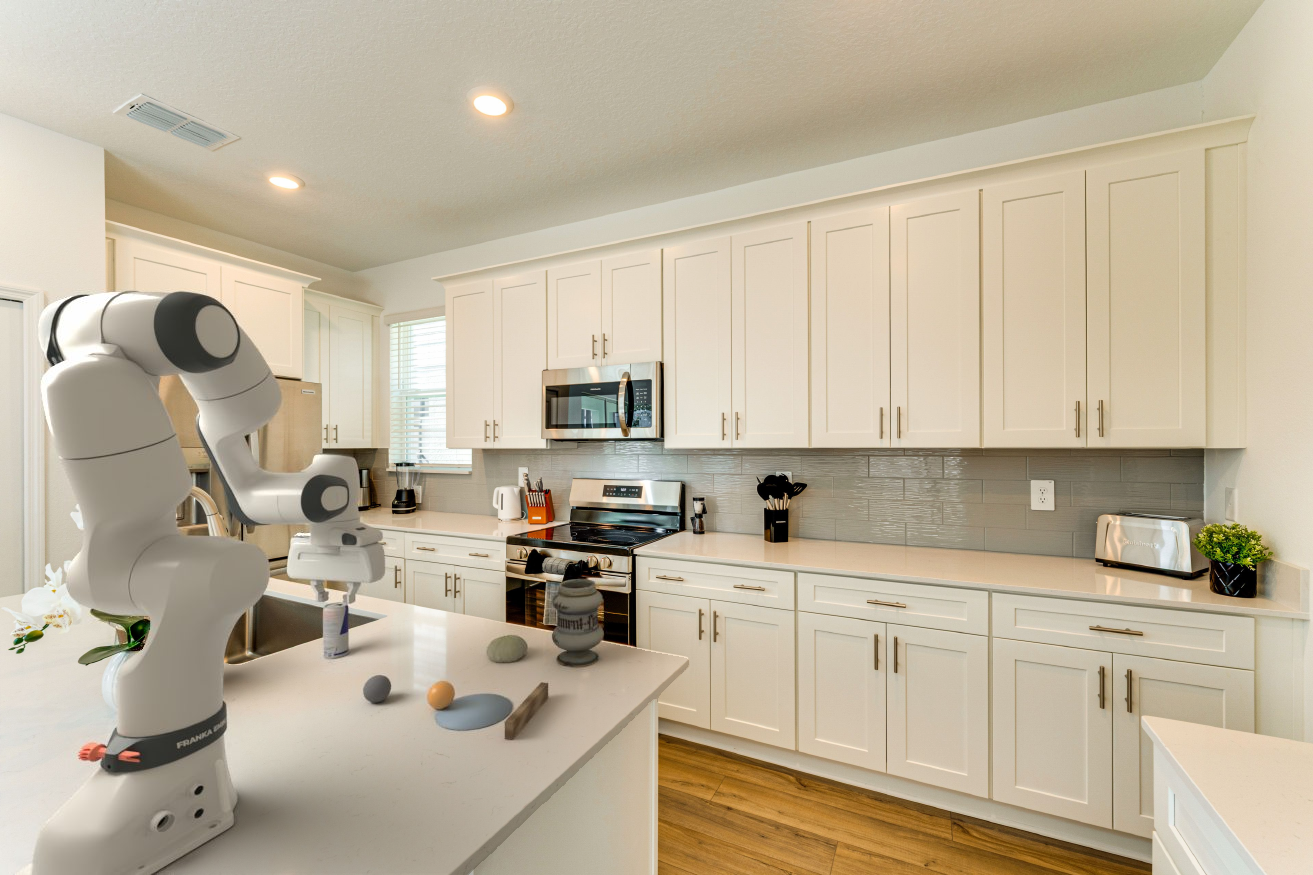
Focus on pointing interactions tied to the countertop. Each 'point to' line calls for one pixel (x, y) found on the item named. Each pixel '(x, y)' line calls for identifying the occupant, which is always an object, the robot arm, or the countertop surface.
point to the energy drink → (335, 630)
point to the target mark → (474, 712)
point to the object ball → (441, 695)
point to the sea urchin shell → (506, 648)
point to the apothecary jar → (577, 622)
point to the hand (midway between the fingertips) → (335, 602)
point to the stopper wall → (526, 711)
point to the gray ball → (377, 688)
